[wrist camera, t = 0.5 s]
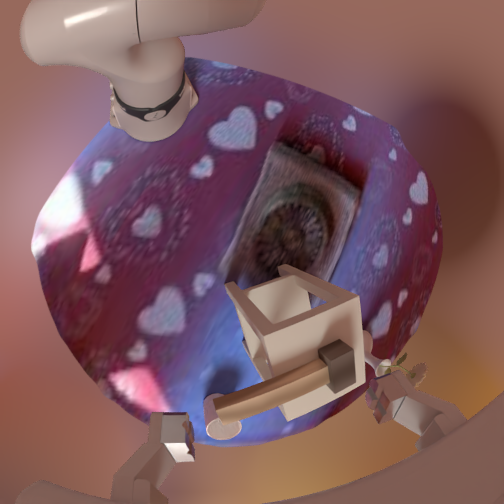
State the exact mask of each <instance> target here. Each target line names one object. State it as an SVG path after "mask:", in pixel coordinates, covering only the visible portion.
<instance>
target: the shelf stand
mask: <svg viewBox="0 0 504 504" xmlns="http://www.w3.org/2000/svg"><path fill="white" fill-rule="evenodd" d="M278 271H279V275H280V276H282V277H279V278H276V279H273V280H270V281H267V282H264V283H262V284H259V285H256V286H253V287H250V288H247V289H244V290H241V289H240V288H239V287H238V286H237V285H236V283H235V282H234V281H232V282H229V283H226V284H224V285H225V288H226V291H227V294H228V295H229V297H230V298H231V300H232V301H233V302H234V304H235V308H236V311H237V314H238V318H239V321H240V324H241V327H242V331H243V334H244V337H245V340H244V341H242V343H243V346H244V349H245V350H246V352H247V354H248V356H249V357H250V359H251V361H252V363H253V364H254V366H255V368H256V370H257V371H258V373H259V375H260V377H261V378H262V380H263V381H266V380H269V379H271V378H274V377H276V376H279V375H281V374H284V373H286V372H288V371H291V370H293V369H295V368H298V367H300V366H302V365H305V364H307V363H309V362H311V361H313V360H316V359H318V358H319V355H318V349H319V348H321V347H323V346H325V345H328V344H330V343H332V342H334V341H336V340H338V339H340V340H342V341H343V342H345V343H346V344H347V345H349V346H350V347H352V348H353V349H354V357H355V371H356V383H354V384H353V385H351V386H349V387H347V388H345V389H344V390H342V391H340V392H338V393H336V394H334V393H333V392H332V391H331V390H330V389H329V387H328V386H327V385H324V386H322V387H320V388H318V389H316V390H313V391H311V392H309V393H307V394H305V395H303V396H300V397H298V398H296V399H294V400H291V401H289V402H287V403H284V404H282V405H279V406H278V407H279V408H280V410H281V412H282V413H283V415H284V416H285V418H286V420H287V421H290V420H292V419H295V418H297V417H299V416H301V415H304V414H306V413H308V412H310V411H312V410H314V409H316V408H318V407H320V406H323V405H325V404H327V403H328V402H330V401H332V400H334V399H336V398H338V397H340V396H342V395H344V394H346V393H347V392H349V391H351V390H353V389H354V388H356V387H358V386H360V385H361V384H363V383H365V361H364V344H363V330H362V319H361V309H360V299H359V296H358V295H356V294H354V293H352V292H349V291H347V290H345V289H342V288H340V287H338V286H336V285H333V284H331V283H329V282H326V281H324V280H322V279H320V278H317V277H315V276H313V275H310V274H308V273H306V272H303V271H301V270H299V269H297V268H294V267H292V266H290V265H287V264H284V265H281V266H278ZM308 292H310V293H312V294H314V295H315V296H317V297H319V298H321V299H322V300H324V301H326V302H327V303H325V304H323V305H320V306H318V307H315V308H313V309H311V306H310V301H309V296H308ZM267 363H268V364H267ZM268 365H269V366H268Z"/></svg>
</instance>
